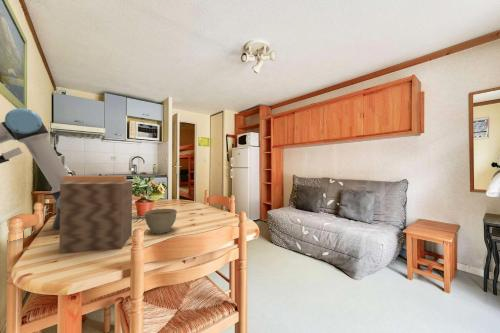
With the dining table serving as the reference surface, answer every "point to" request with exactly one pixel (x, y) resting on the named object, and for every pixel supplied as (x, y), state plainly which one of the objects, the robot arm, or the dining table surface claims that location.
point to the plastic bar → (94, 178)
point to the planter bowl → (160, 220)
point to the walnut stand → (95, 216)
